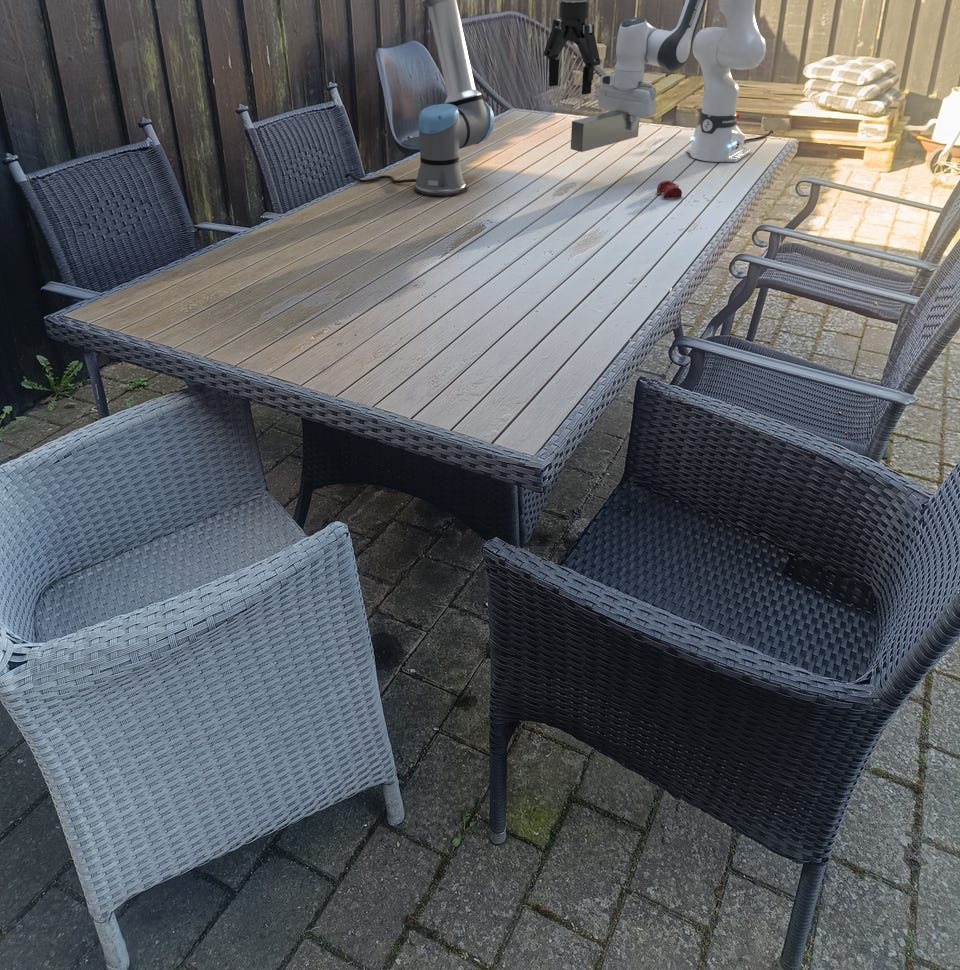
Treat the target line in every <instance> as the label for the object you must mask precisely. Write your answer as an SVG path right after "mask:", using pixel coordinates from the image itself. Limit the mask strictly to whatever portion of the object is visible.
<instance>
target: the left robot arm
mask: <svg viewBox="0 0 960 970" xmlns="http://www.w3.org/2000/svg"><path fill="white" fill-rule="evenodd" d="M420 2H421V4H422V5H424V6H425V7H427V9H428V15H429V18H430V23H431V28H432V32H433V36H434V41H435V45H436V50H437V54H438V59H439V62H440V66H441V67H440V68H441V71H442V76H443V81H444V85H445V90H446V93H447V94H446V95H447V97H446V98H445V101H444V103H439V104H431V105H428V106H426V107H424V108H423V109H422V110H421V111H420V112H419V114H418V115H419V116H418V126H417V127H418V137H419V138H418V139H419V157H420V158H419V159H420V161H419V162H420V164H419V168H418V172H417V176H416V178H408V179H407V178H406V179H395V178H394V177H393V176H392V175H386V174H385V175H378V176H374V177H371V178H366V179H365V178H363V179H362V178H358V177H357V176H356V175H355V174H354V173H352V172H347V173H346V174H345V175H344V178H345V179H346V178H348V177H351V178H352V179H353V180H354V181H356V182H359V183H372V182H375V181H378V180H382V179H389V180H390V181H391V182H392V183H393V184H405V183H414V184H415V185H414V186H415V192H417V193H418V194H420V195H424V196H430V197H450V196H455V195H459V194H461V193H463V192H464V191H466V181H465V179H464V176H463V172H462V169H461V165H460V149H463V148H467V147H470V146H474V145H475V146H476V145H479V144H480V143H482V142H485V141H486V140H487V139H489V137H490V136H491V134H492V133H493V131H494V128H495V114H494V111H493V109H492V107H491V105H489V103H488V102H486V101H484V99H483V95H482V92H480V91H479V90H478V89H477V88H476V85H475V81H474V76H473V70H472V66H471V62H470V57H469V53H468V47H467V42H466V39H465V34H464V29H463V24H462V20H461V15H460V11H459V6H458V0H420ZM589 4H590V3H589V1H587V0H561V1H560V2H559V16H558V17H559V18H556V19H553V20H552V26H551V27H552V28H551V30H550V33H549V36H548V40H547V42H546V45H545V48H544V51H543V56H544V57H547V60H548V87H555V86H559V74H560V59H559V55H560V54H561V52H562V50H563V49H564V47H565V45H566V44H567V42H569V41H570V42H572V43H574V44H575V45H576V46H577V48H578V50H579V51H578V52H579V53H580V56H581V58H582V60H583V63H584V66H583V67H582V81H581V95H589V94H592V85H593V84H592V83H593V80H594V74H595V67H597V66H600V65H601V58H600V53H599V49H598V44H597V41H596V40H597V39H596V36H595V25H594V23H591V24H588V23H587V24H586V19H588V17H589V10H590V9H589V8H590V5H589Z"/></svg>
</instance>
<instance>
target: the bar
mask: <svg viewBox="0 0 960 970" xmlns="http://www.w3.org/2000/svg"><path fill="white" fill-rule="evenodd" d="M633 120H634V119H632V115H629V114H628V112H623V111H618V110H615V111H607V112H603V113H599V114H595V115H591V116H586V117H582V118H579V119H575V120H571V135H570V150H573V151H576V152H579V153H585V152H587V151H591V150H595V149H598V148H602V147H605V146H609V145H613V144H616V143H620V142H624V141H627V140H631V139H635V138H638V137H639V129H640V120H641V118H640V119H639V121H638V123H637V124H636V130H634V131H631V130H629V124H631V123H632V121H633Z"/></svg>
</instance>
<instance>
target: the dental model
mask: <svg viewBox="0 0 960 970" xmlns="http://www.w3.org/2000/svg"><path fill="white" fill-rule="evenodd" d="M656 194H663V195H662V198H663V200H666V199H678V198H682V196H683V191H682V189H681V187H680V185H679V184H677V183H675V182H673V181H672V180H662V181H661V182H660V183H658V185H657V187H656Z"/></svg>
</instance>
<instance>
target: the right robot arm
mask: <svg viewBox="0 0 960 970" xmlns="http://www.w3.org/2000/svg"><path fill="white" fill-rule="evenodd" d="M683 4H684V5H683V7H682V10H681V13H680V16H679V19H678V21H677V25H676V27H674V29H671V30H667V29H662V28H656V27H655V26H653V25H651V24H650V23H649V22H648V21H647V19H646V18H645V17H643V16H642V17H641V16H635V17H629V18H626V19H624V20H623V21H622V22H621V23H620V25H619V27H618V31H617V36H616V44H615V57H616V62H615V65H614V71H613V72H611V73H608V74H604V75H601V76H600V80H599V81H600V84H601V85H600V86H599V89H598V94H597V106H598V108H599V109H602V110H606V111H609V112H611V111H615V110H618V111H623V112H628V114H629V115H632V119H634V120H633V121H632V123H631V124H629V130H631V131H634V130H636V124H637V123H638V121H639V122H640V120H641V118H644V119H649V118H652V117H654V116H655V114H656V110H657V109H656V108H657V98H656V93H657V90H656V87H655V86H654V85H653V84H652V83H648V82H644V80H645V79H644V78H645V65H649V66H654V67H659V68H661V69H665V70H668V71H671V72H675V71H678V70H680V69H681V68H682V67H683V66H684V65H685V64H686V63H687V62H688V60H689V58H690V56H691V53H692V55H693V56H694V59H696V61H697V63H698V65H699V67H700V70H701V73H702V78H703V87H704V89H703V98H702V106H701V110H700V112H699V116H698V126H696V127H695V128H694V133H693V136H691V137H690V141H692V142H691V146H690V148H688V149H687V153H688V154H689V155H690V157H691V158H692V159H696V160H697V161H698V160H699V161H702V162H703V161H704V162H711V163H712V162H713V163H714V162H715V163H725V162H728V163H730V162H731V163H736V162H738V161H740V160H741V159H743V158H744V157H745V156H748V154H750V149H748V148H747V147H745V146H744V144H745V143H746V142H750V141H756V140H760V139H761V140H762V139H764V138H767V137H769V136H770V135H771V134H774V130H773V129H771V130H770V131H769V132H768V133H767V134H763V135H761V136H757V137H750V138H745V134H744V133H743V132H742V131H741V129H740V128H739V126H738V120H741V118H742V114H743V113H742V112H738V111H737V106H738V100H739V93H740V88H739V84H738V83H737V82H736V81H735V80H734V79H733V75H732V74H731V70H738V71H746V70H754V69H757V67H758V66H759V65H761V63H762V62H763V60H764V58H765V56H766V51H767V45H766V40H765V38H764V37H763V35H762V34H761V32H760V30H759V27H758V25H757V21H756V12H755V11H756V10H755V8H756V0H717V6H718V9H719V11H720V12H721V13H722V14H723V16H724V17H725V20H726V27H721V26H711V27H704V28H702V29H700V30H699V31H698V32H697V29H698V26H699V24H700V21H701V18H702V15H703V12H704V9H705V7H706V4H707V0H685V2H684V3H683ZM696 32H697V33H696ZM639 119H640V120H639Z"/></svg>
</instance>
